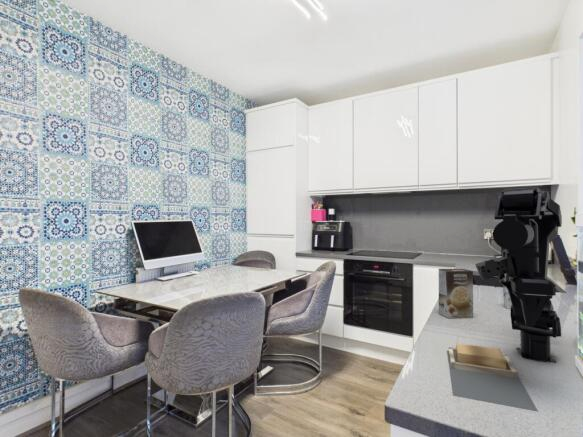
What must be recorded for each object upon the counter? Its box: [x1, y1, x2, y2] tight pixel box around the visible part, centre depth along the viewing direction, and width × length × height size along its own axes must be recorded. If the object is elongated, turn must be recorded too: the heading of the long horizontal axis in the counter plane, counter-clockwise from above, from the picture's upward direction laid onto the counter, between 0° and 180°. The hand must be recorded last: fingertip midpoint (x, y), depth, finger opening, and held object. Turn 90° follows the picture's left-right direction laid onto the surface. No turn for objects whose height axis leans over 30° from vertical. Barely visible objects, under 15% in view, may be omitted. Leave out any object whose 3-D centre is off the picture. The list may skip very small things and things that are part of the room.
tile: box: [455, 343, 506, 369], centre depth 71 cm, size 9×6×3 cm, turn 66°
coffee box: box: [438, 268, 474, 319], centre depth 109 cm, size 9×6×16 cm
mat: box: [446, 350, 539, 412], centre depth 66 cm, size 22×13×1 cm, turn 156°
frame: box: [448, 347, 518, 378], centre depth 71 cm, size 9×12×1 cm
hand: (523, 319), depth 67 cm, fingers open, 9 cm apart
